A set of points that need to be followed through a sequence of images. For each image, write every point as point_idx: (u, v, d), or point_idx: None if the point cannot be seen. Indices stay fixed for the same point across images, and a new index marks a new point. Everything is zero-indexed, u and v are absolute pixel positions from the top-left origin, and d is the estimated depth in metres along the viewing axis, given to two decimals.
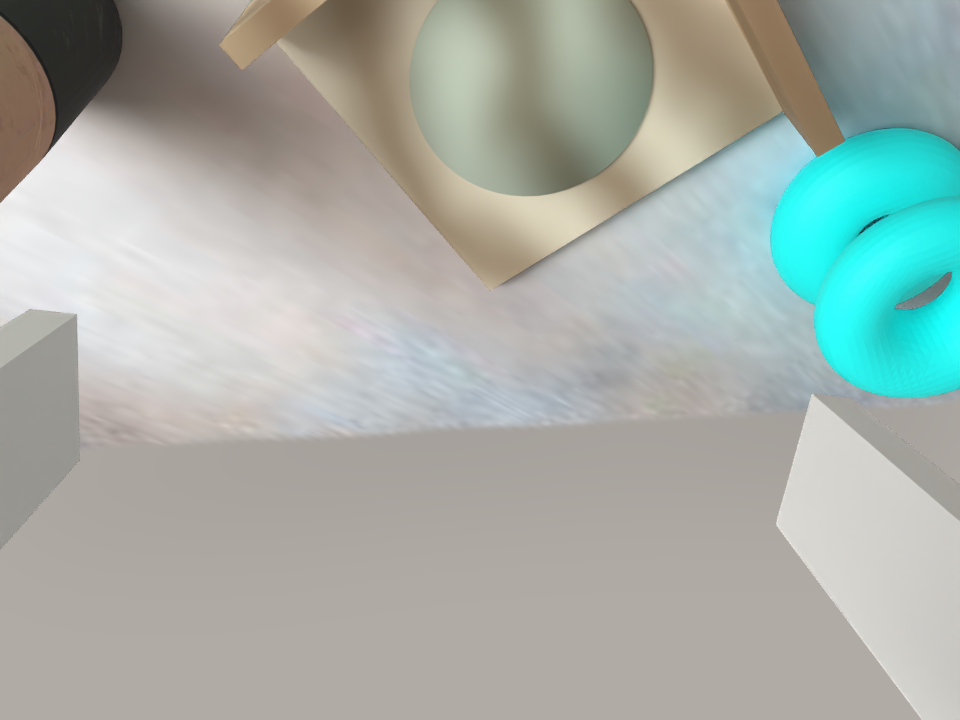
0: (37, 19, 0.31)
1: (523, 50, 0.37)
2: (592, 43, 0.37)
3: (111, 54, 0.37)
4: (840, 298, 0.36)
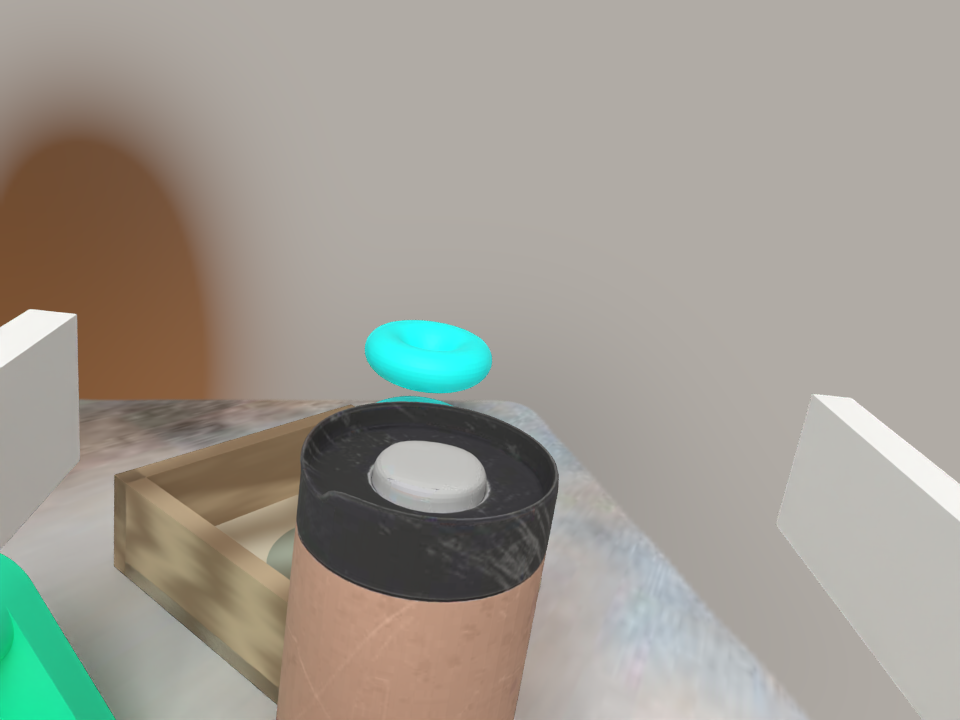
0: None
1: None
2: None
3: None
4: (431, 364, 0.62)
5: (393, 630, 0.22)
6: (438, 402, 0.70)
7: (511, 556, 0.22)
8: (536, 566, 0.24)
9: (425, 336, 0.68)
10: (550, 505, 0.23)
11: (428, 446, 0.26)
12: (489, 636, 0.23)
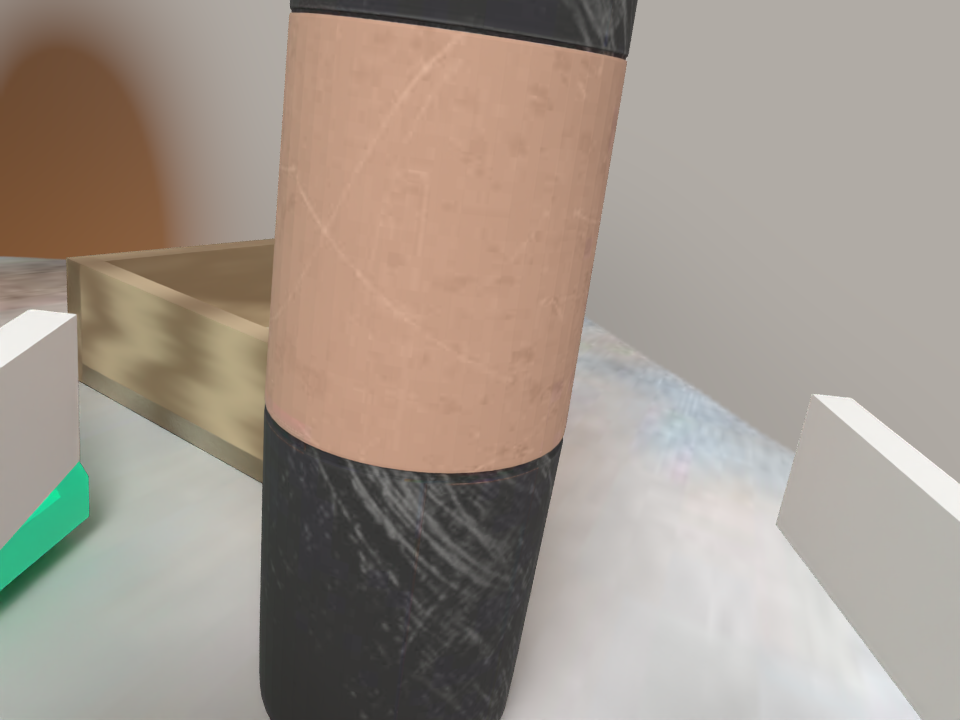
0: None
1: None
2: None
3: None
4: None
5: (434, 84, 0.16)
6: None
7: None
8: (621, 46, 0.17)
9: None
10: None
11: None
12: (564, 119, 0.17)
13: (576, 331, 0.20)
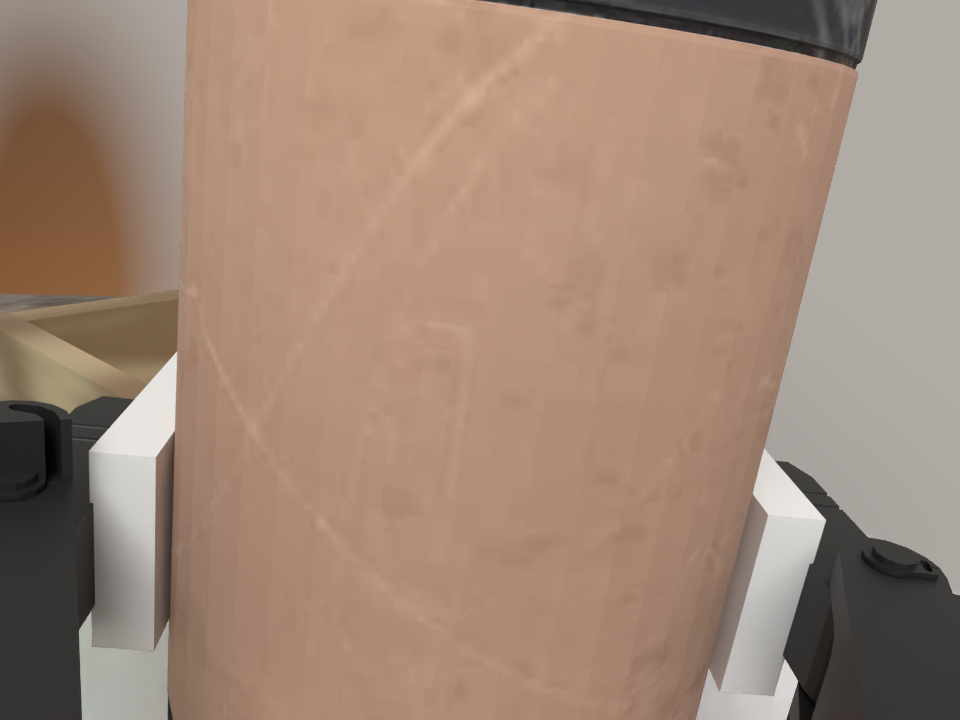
0: None
1: None
2: None
3: None
4: None
5: (490, 134, 0.07)
6: None
7: None
8: (863, 47, 0.09)
9: None
10: None
11: None
12: (764, 205, 0.08)
13: (732, 572, 0.11)
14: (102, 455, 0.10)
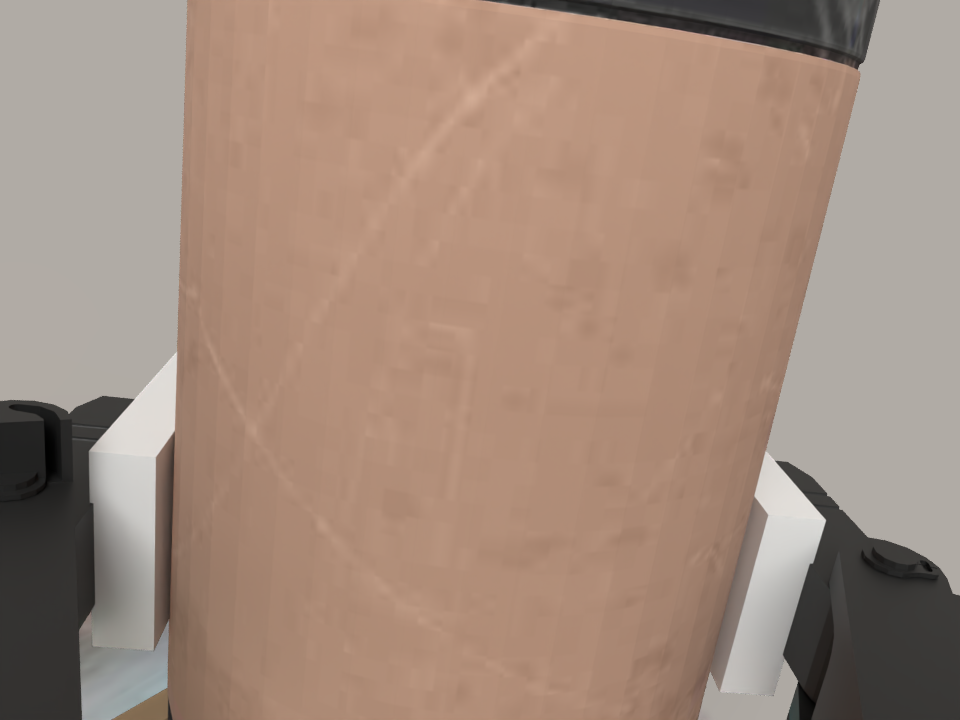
0: None
1: None
2: None
3: None
4: None
5: (491, 135, 0.07)
6: None
7: None
8: (866, 47, 0.08)
9: None
10: None
11: None
12: (768, 207, 0.08)
13: None
14: (102, 455, 0.10)
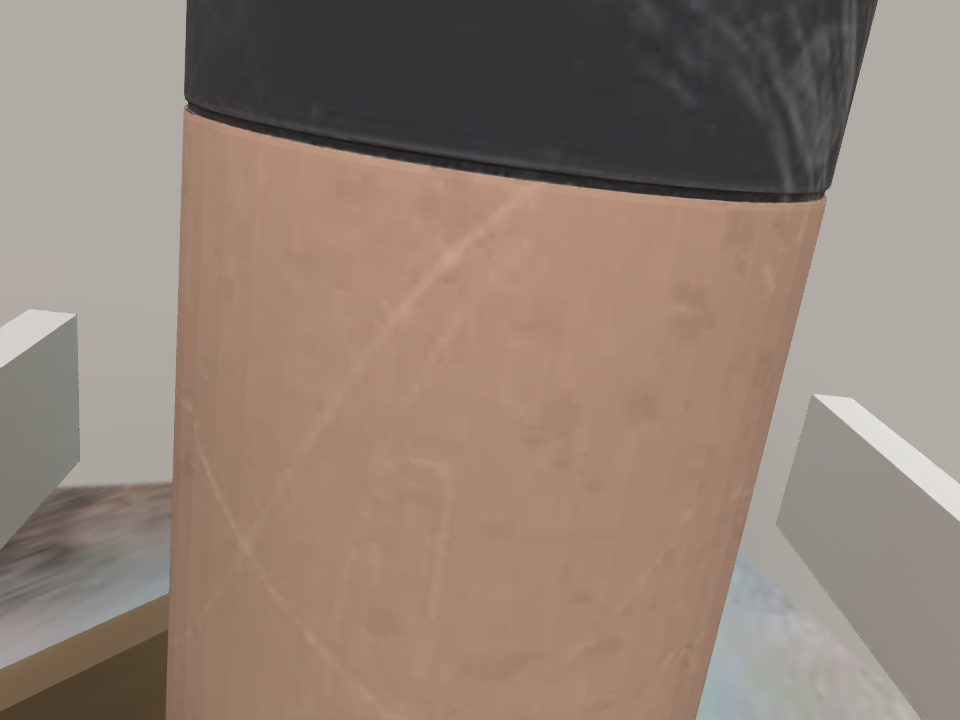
0: None
1: None
2: None
3: None
4: None
5: (468, 292, 0.07)
6: None
7: (813, 72, 0.07)
8: (831, 177, 0.09)
9: None
10: None
11: None
12: (732, 342, 0.08)
13: (710, 659, 0.11)
14: None
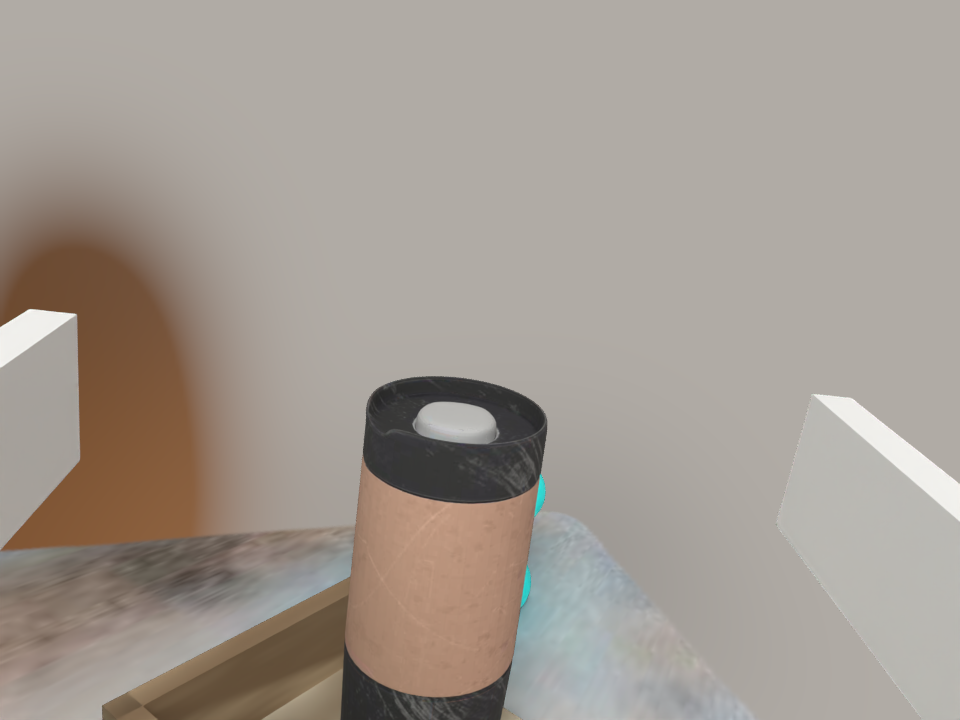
0: None
1: None
2: None
3: None
4: None
5: (436, 524, 0.32)
6: None
7: (516, 472, 0.33)
8: (533, 483, 0.34)
9: None
10: (541, 439, 0.34)
11: (454, 404, 0.36)
12: (502, 530, 0.33)
13: (515, 613, 0.36)
14: None
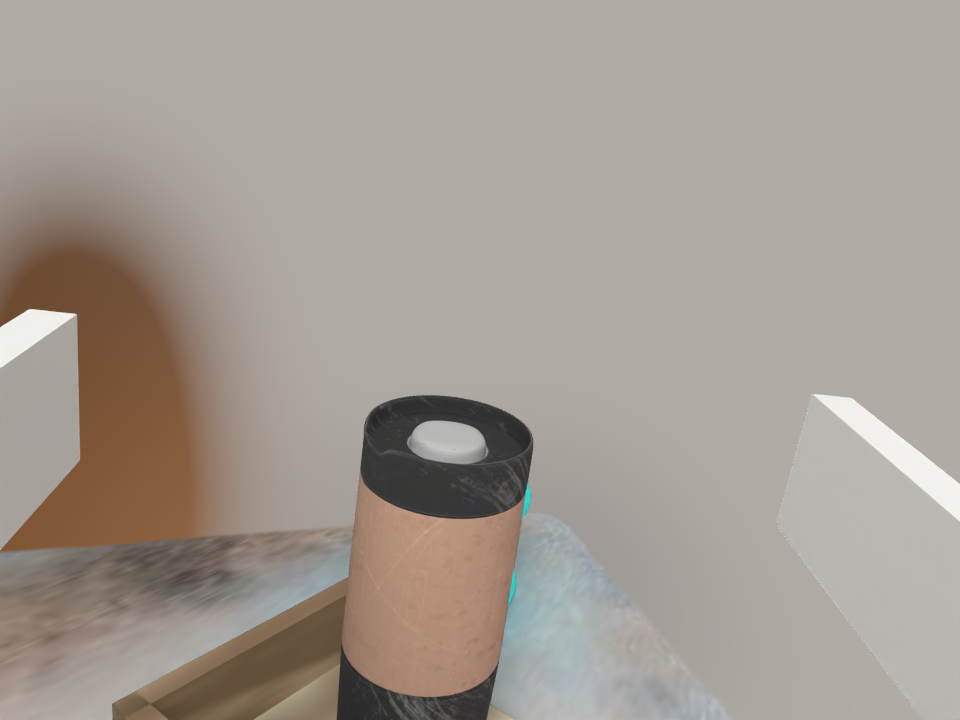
0: None
1: None
2: None
3: None
4: None
5: (429, 538, 0.35)
6: None
7: (503, 489, 0.35)
8: (519, 498, 0.36)
9: None
10: (528, 458, 0.36)
11: (446, 423, 0.38)
12: (490, 543, 0.36)
13: (502, 618, 0.39)
14: None
